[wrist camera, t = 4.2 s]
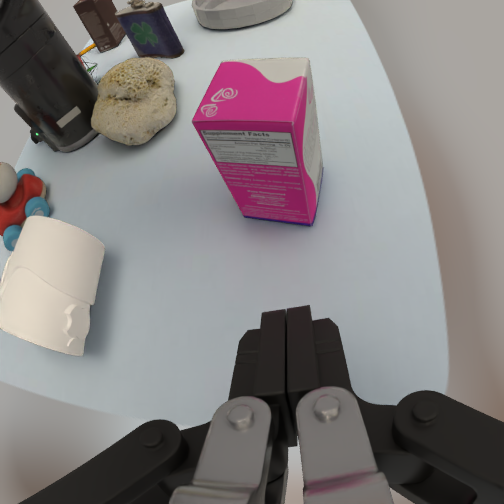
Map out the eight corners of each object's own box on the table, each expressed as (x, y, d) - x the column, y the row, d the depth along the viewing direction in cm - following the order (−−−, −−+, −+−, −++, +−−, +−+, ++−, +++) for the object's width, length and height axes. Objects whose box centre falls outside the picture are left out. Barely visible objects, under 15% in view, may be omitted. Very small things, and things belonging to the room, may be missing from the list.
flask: (135, 57, 42) (106, 7, 32) (147, 47, 42) (120, -4, 33) (177, 59, 38) (148, -1, 29) (189, 48, 39) (163, -12, 29)
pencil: (130, 21, 48) (131, 22, 49) (72, 56, 48) (73, 56, 49) (132, 24, 49) (132, 25, 49) (74, 59, 49) (75, 59, 49)
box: (119, 46, 46) (90, -3, 35) (100, 53, 47) (70, 7, 36) (130, 30, 48) (104, -16, 37) (111, 37, 49) (85, -7, 38)
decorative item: (90, 84, 34) (139, 30, 29) (139, 117, 40) (190, 71, 36) (62, 141, 28) (116, 73, 23) (126, 178, 34) (186, 124, 29)
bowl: (198, 41, 39) (189, 20, 36) (200, 6, 45) (193, -11, 42) (301, 19, 37) (297, -4, 33) (283, -12, 43) (279, -30, 39)
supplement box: (257, 161, 28) (221, 57, 18) (324, 168, 26) (315, 55, 16) (240, 219, 26) (187, 119, 16) (313, 229, 25) (300, 122, 14)
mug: (129, 256, 27) (72, 214, 20) (104, 361, 24) (34, 346, 17) (46, 247, 30) (-5, 214, 23) (24, 329, 27) (-34, 309, 20)
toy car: (3, 217, 35) (-46, 182, 26) (42, 171, 36) (-5, 128, 27) (14, 260, 31) (-47, 224, 22) (58, 207, 32) (0, 160, 23)
